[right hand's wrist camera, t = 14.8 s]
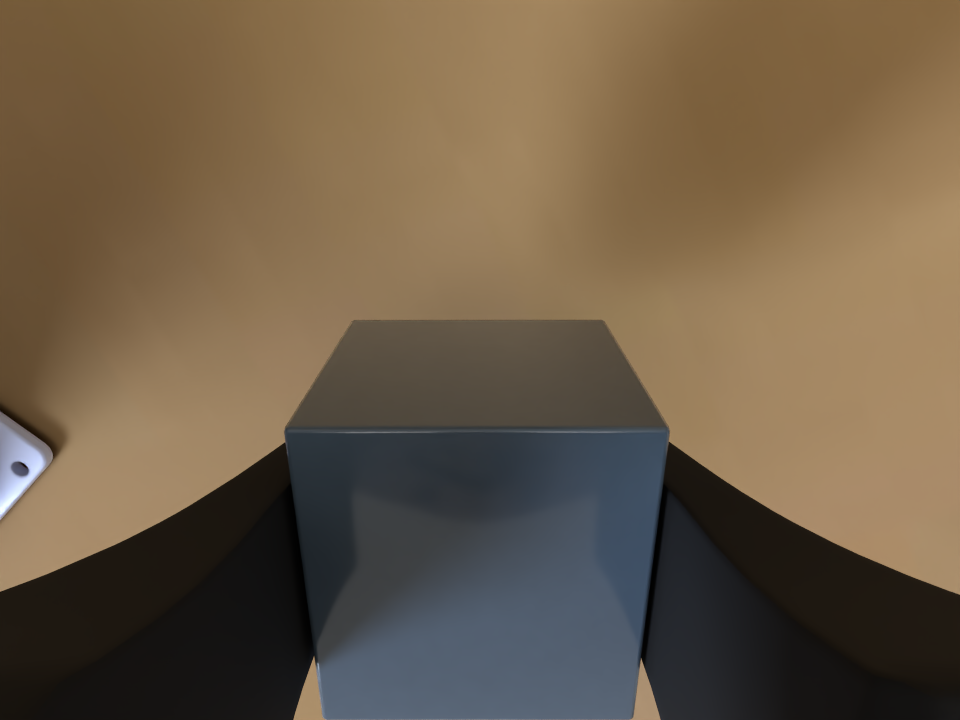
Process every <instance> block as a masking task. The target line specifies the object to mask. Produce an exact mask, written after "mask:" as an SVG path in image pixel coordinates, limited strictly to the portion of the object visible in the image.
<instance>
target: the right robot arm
mask: <svg viewBox="0 0 960 720" xmlns="http://www.w3.org/2000/svg"><path fill="white" fill-rule="evenodd" d="M52 460H53V453H52V451H51V449H50V447H49V446H48V445H46V444H45V443H44V442H43V441H41V440H40V439H39V438H37V437H36V436H34V435H33V434H31V433H30V432H29V431H27V430H26V429H24V428H23V427H22V426H20V425H19V424H17V423H16V422H15V421H13V420H12V419H10V418H9V417H8V416H6V415H5V414H3V413H2V412H0V520H1V519H2V518H3V517H4V516H5V515H6V513H7V512H8V511H9V510H10V509H11V508H12V507H13V505H14V504H15V503H16V502H17V501H18V500H19V499H20V498H21V496H22V495H23V494H24V493H25V492H26V491H27V490H28V488H29V487H30V486H31V485H32V484H33V483H34V482H35V480H36V479H37V478H38V477H39V476H40V475H41V474H42V473H43V471H44V470H45V469H46V468H47V467H48V466H49V465H50V463H51V462H52ZM21 462H22V463H24V464H25V465H26V466H27V467H28V469H27V468H25V467H24V466H23V465H22V464H21ZM313 657H314V650H313V642H312V635H311V627H310V620H309V613H308V605H307V598H306V590H305V583H304V576H303V568H302V561H301V554H300V546H299V539H298V531H297V524H296V517H295V509H294V502H293V494H292V487H291V480H290V472H289V465H288V457H287V450H286V443H284V444H282V445H281V446H279V447H278V448H276V449H275V450H274V451H272V452H271V453H269V454H268V455H267V456H265V457H264V458H262V459H261V460H259V461H258V462H256V463H255V464H254V465H252V466H251V467H249V468H248V469H246V470H245V471H243V472H242V473H241V474H239V475H238V476H236V477H235V478H233V479H231V480H230V481H228V482H227V483H225V484H224V485H222V486H220V487H219V488H217V489H216V490H214V491H212V492H211V493H209V494H208V495H206V496H204V497H203V498H201V499H200V500H198V501H196V502H195V503H193V504H192V505H190V506H188V507H187V508H185V509H183V510H181V511H180V512H178V513H176V514H174V515H173V516H171V517H169V518H167V519H165V520H164V521H162V522H160V523H158V524H156V525H154V526H152V527H150V528H148V529H146V530H144V531H142V532H140V533H138V534H136V535H134V536H132V537H131V538H129V539H126V540H124V541H122V542H120V543H118V544H116V545H114V546H111V547H109V548H107V549H105V550H102V551H100V552H98V553H95V554H93V555H91V556H88V557H86V558H84V559H81V560H79V561H77V562H74V563H72V564H70V565H68V566H65V567H63V568H61V569H58V570H56V571H54V572H51V573H49V574H46V575H44V576H41V577H39V578H36V579H33V580H31V581H28V582H25V583H23V584H20V585H17V586H15V587H12V588H9V589H7V590H4V591H1V592H0V720H293V719H294V715H295V711H296V708H297V705H298V702H299V698H300V695H301V692H302V688H303V685H304V683H305V680H306V677H307V674H308V671H309V668H310V666H311V663H312V660H313ZM641 659H642V662H643V664H644V667H645V670H646V673H647V676H648V679H649V682H650V685H651V688H652V691H653V695H654V698H655V701H656V705H657V708H658V711H659V715H660V719H661V720H960V595H959V594H956V593H953V592H950V591H947V590H945V589H942V588H939V587H937V586H934V585H931V584H929V583H926V582H924V581H921V580H918V579H916V578H913V577H911V576H908V575H906V574H903V573H901V572H898V571H896V570H894V569H891V568H889V567H887V566H884V565H882V564H880V563H877V562H875V561H872V560H870V559H868V558H865V557H863V556H861V555H858V554H856V553H854V552H852V551H850V550H848V549H845V548H843V547H841V546H839V545H837V544H835V543H833V542H831V541H829V540H827V539H825V538H823V537H821V536H819V535H817V534H815V533H813V532H811V531H809V530H807V529H805V528H803V527H801V526H799V525H797V524H795V523H793V522H792V521H790V520H788V519H786V518H784V517H783V516H781V515H779V514H777V513H775V512H774V511H772V510H770V509H769V508H767V507H765V506H764V505H762V504H761V503H759V502H757V501H756V500H754V499H752V498H751V497H749V496H747V495H746V494H744V493H742V492H741V491H739V490H738V489H736V488H735V487H733V486H732V485H730V484H729V483H727V482H726V481H724V480H723V479H721V478H720V477H718V476H717V475H715V474H714V473H712V472H711V471H709V470H708V469H707V468H705V467H704V466H702V465H701V464H699V463H698V462H697V461H695V460H694V459H692V458H691V457H690V456H688V455H687V454H685V453H684V452H683V451H681V450H680V449H678V448H677V447H676V446H674V445H673V444H671V443H670V442H669V443H668V451H667V458H666V466H665V474H664V482H663V490H662V497H661V505H660V513H659V521H658V529H657V536H656V544H655V552H654V560H653V568H652V576H651V583H650V591H649V599H648V607H647V615H646V622H645V630H644V638H643V646H642V654H641Z"/></svg>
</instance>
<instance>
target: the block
mask: <svg viewBox="0 0 960 720" xmlns="http://www.w3.org/2000/svg"><path fill="white" fill-rule="evenodd" d="M284 435H285V443H286V450H287V457H288V465H289V472H290V480H291V487H292V494H293V502H294V509H295V517H296V524H297V531H298V539H299V546H300V554H301V561H302V568H303V576H304V583H305V590H306V598H307V605H308V613H309V620H310V627H311V635H312V642H313V650H314V657H315V664H316V672H317V679H318V687H319V694H320V701H321V709H322V716H323V718H324V719H325V720H630V719H632V718H633V715H634V708H635V700H636V693H637V685H638V677H639V669H640V661H641V654H642V646H643V638H644V630H645V622H646V615H647V607H648V599H649V591H650V583H651V576H652V568H653V560H654V552H655V544H656V536H657V529H658V521H659V513H660V505H661V497H662V490H663V482H664V474H665V466H666V458H667V451H668V443H669V435H670V429H669V426H668V425H667V423H666V421H665V420H664V418H663V417H662V415H661V413H660V412H659V410H658V408H657V407H656V405H655V403H654V402H653V400H652V398H651V397H650V395H649V394H648V392H647V390H646V389H645V387H644V385H643V384H642V382H641V380H640V379H639V377H638V375H637V374H636V372H635V371H634V369H633V367H632V366H631V364H630V362H629V361H628V359H627V357H626V356H625V354H624V352H623V351H622V349H621V348H620V346H619V344H618V343H617V341H616V339H615V338H614V336H613V334H612V333H611V331H610V329H609V328H608V326H607V324H606V323H605V321H603V320H354V321H352V322H351V323H350V325H349V326H348V328H347V330H346V331H345V333H344V334H343V336H342V338H341V339H340V341H339V342H338V344H337V346H336V347H335V349H334V350H333V352H332V354H331V355H330V357H329V358H328V360H327V361H326V363H325V365H324V366H323V368H322V369H321V371H320V373H319V374H318V376H317V377H316V379H315V381H314V382H313V384H312V385H311V387H310V389H309V390H308V392H307V393H306V395H305V397H304V398H303V400H302V401H301V403H300V404H299V406H298V408H297V409H296V411H295V412H294V414H293V416H292V417H291V419H290V420H289V422H288V424H287V425H286V427H285V430H284Z"/></svg>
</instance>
